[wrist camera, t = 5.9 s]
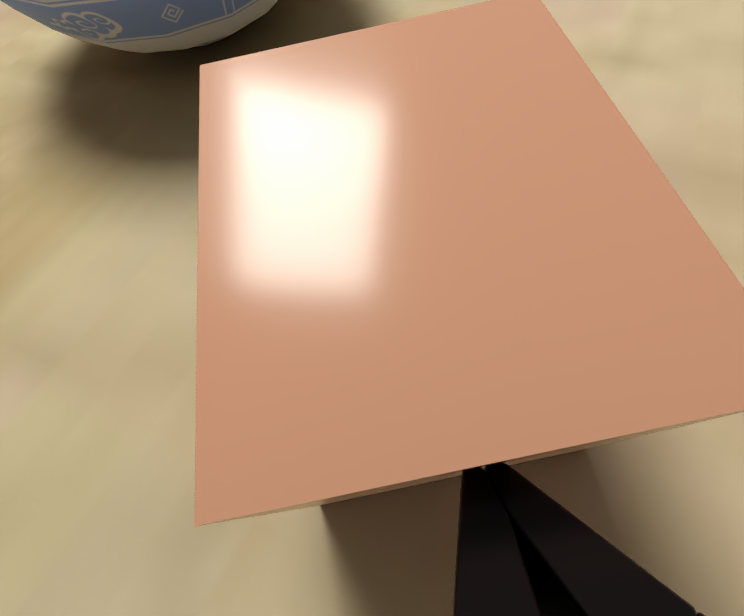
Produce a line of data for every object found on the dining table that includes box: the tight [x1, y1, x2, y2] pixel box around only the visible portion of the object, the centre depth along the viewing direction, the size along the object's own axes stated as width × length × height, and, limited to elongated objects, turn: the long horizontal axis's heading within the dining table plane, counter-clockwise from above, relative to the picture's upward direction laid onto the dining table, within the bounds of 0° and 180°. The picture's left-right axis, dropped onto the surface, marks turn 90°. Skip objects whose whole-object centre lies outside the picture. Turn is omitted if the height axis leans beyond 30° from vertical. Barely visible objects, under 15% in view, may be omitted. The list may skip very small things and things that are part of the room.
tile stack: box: [195, 0, 744, 526], centre depth 13 cm, size 12×10×9 cm
